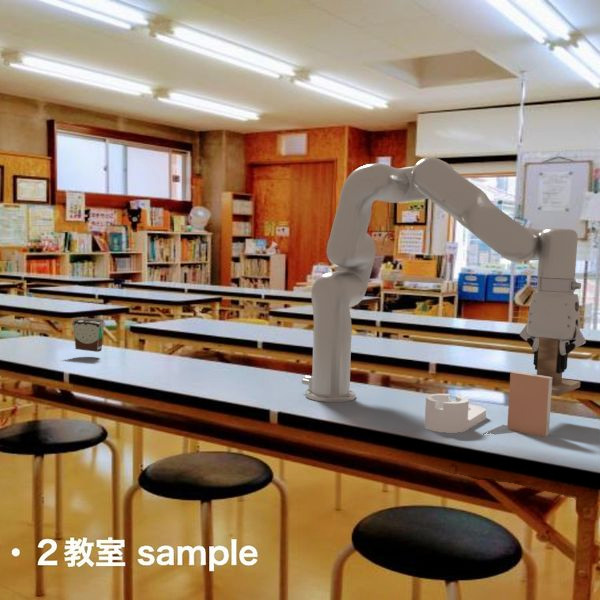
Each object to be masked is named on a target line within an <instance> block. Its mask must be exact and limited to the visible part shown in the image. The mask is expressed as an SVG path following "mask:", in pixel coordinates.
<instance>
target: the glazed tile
mask: <svg viewBox="0 0 600 600" xmlns="http://www.w3.org/2000/svg"><path fill="white" fill-rule="evenodd" d="M509 374H510V376H509V391H508V394H509V395H508V409H507V429H510V430H515V431H519V432H520V433H525V434H530V435H534V436H535V435H536V436H540V437H547V436H549V435H550V423H551V422H550V420H551V406H552V405H551V404H552V403H551V402H552V395H551V392H552V377H548V376H542V375H537V374H534V373H528V372H521V371H517V370H514V371H511V372H510V373H509ZM519 432H518V433H519Z"/></svg>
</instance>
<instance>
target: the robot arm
mask: <svg viewBox="0 0 600 600" xmlns="http://www.w3.org/2000/svg"><path fill="white" fill-rule="evenodd" d="M422 200H429V201H431V202H432V203H433V204H435V205H436V206H437V207H439V208H440V209H442V210H443V211H444V212H445V213H446V214H448V215H449V216H450V217H452V218H453V219H454V220H456V221H457V222H458V223H459V224H460V225H461V226H463V227H464V228H465V229H467V230H468V231H469V232H471V233H472V235H474V236H475V237H476V238H478V240H480V241H481V242H482V243H484V244H485V245H487V246H488V247H489V248H490V249H491V250H493V251H494V252H495V253H497V254H498V255H499V256H501V257H502V258H503V259H505V260H508V261H510V262H514V263H515V262H518V263H519V262H529V261H538V263H537V278H536V291H533V294H532V297H531V300H530V303H529V308H528V313H527V315H528V316H527V323H526V324H525V326H524V327H523V328H522V330H521V331H520V333H519V337H521V338H522V339H523V340H524V341H526V342H527V344H528V345H529V346H530V348H531V349H532V351H533V365H534V370H536V371H537V362H538V347H539V337H546V338H554V339H558V340H559V348H560V353H559V355H558V356H557V371H556V372H557V373H562V374H563V373H565V371H566V370H567V369H568V355H569V354H571V352H573V351H574V350H575V349H577V348H578V347H581V346H582V345H584V344H586V342H587V341H586V338H585V337H584V335H583V333H582V331H581V312H580V311H581V309H580V299H579V294H578V293H574V292H576V290H581V288H582V283H581V282H577V280H576V267H577V266H576V265H577V254H578V238H579V237H578V234H577V232H576V231H575V230H574V229H569V228H545V229H538V228H531V227H525V226H524V225H521V224H520V223H519V222H517V221H516V220H515V219H514V218H512V217H510V215H508V214H506V212H504V211H503V210H502V209H500V208H499V207H498V206H497V205H495V203H493V202H492V201H491V200H490V198H489V197H488V196H487V194H486V193H485V192H484V191H483V190H482V189H481V188H479V187H478V186H477V185H475V184H474V183H472V182H471V181H469V180H468V179H467V178H466V177H464V176H463V175H461V174H460V173H459V172H457V171H456V170H455V169H454V168H453V167H452V166H451V164H449V163H448V162H447V161H444V160H441V159H440V158H437V157H433V156H431V157H430V156H428V157H423V158H422V159H420V160H419V161H417V162H416V163H415V165H414V166H405V167H401V168H400V167H399V168H397V167H394V166H391V165H389V164H385V163H384V164H383V163H369V164H365V165H363V166H360V167H358V168H356V169H355V170H353V171H352V172H351V173H350V174H349V175H348V176H347V178H346V179H345V181H344V183H343V185H342V189H341V191H340V196H339V199H338V203H337V204H338V205H337V208H336V212H335V215H334V219H333V223H332V227H331V230H330V235H329V238H328V241H327V247H326V256H327V259H328V261H329V262H330V263H331V265H332V266H333V265H334V266H335V267H336V269H335V271H329V272H325V273H323V274H321V275H320V276H318V277H317V278H316V280H315V281H314V282H313V285H312V287H311V288H312V289H311V295H310V296H311V297H310V298H311V306H312V313H313V338H312V339H313V343H312V367H311V368H312V370H311V371H312V373H311V376H310V375H305V376H304V378H303V379H302V380H301V384H302V385H304V386H305V385H306V386H308V389H306V391H305V394H304V396H305V398H307V399H309V400H312V401H316V402H324V403H344V402H350V401H351V402H352V401H353V400H355V399H356V392H354V391H353V390H351V389H350V386H351V355H352V330H353V329H352V317H351V311H350V308H352V307H355V306H357V305H359V303H361V302H362V300H363V299H364V297H365V295H366V292H367V289H368V287H369V282H370V278H371V274H372V270H373V267H374V263H375V258H376V254H377V253H376V251H377V250H376V249H377V248H376V244H375V240H374V239H373V238H372V236H371V235H370V234H369V233H368V228H369V225H370V222H371V218H372V207H373V204H374V202H375V201H379V202H385V203H390V204H392V203H393V204H397V203H406V202H413V201H422ZM571 340H574V341H573V342H571V343H570V341H571Z"/></svg>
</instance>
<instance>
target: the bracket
mask: <svg viewBox="0 0 600 600" xmlns="http://www.w3.org/2000/svg"><path fill="white" fill-rule="evenodd" d="M451 396H452V395H451V394H450V393H431V394H428V395H426V396H425V406H424V407H425V410H424V412H425V413H424V414H425V415H424V428H425V429H427V430H429V431H432V432H436V431H437V432H436V433H443V432H446V434H450V433H451V434H458V432H460V433H464V432H467V431H468V430H470V429H471V428H473V427H475V426H477V425H479V424H480V423H481V422H482V421H485V420H486V418H487V408H484V407H483V406H482V407H481V406H478V405H474V404H470V403H469V401H470V400H469V398H468V397H466V396H463V395H457V396H455V401H454V400H451ZM469 428H470V429H469Z"/></svg>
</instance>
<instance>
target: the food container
mask: <svg viewBox="0 0 600 600" xmlns="http://www.w3.org/2000/svg"><path fill="white" fill-rule="evenodd" d="M71 326H73V334H74V347H75V349H74V350H78V351H79V350H81V351H87V352H88V351H89V352H94V353H99V352H102V347H103V337H104V329H105V328H106V327H107V326H106V322H105V320H104V319H103V318H102V319H101V318H87V317H86V318H73V319H72V324H71Z"/></svg>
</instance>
